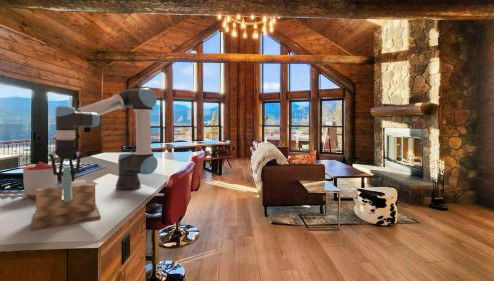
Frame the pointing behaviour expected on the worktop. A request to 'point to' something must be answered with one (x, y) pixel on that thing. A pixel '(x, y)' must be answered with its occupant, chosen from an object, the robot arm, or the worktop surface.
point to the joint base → (65, 219)
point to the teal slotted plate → (67, 184)
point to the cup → (76, 182)
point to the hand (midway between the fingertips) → (66, 188)
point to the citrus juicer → (38, 178)
